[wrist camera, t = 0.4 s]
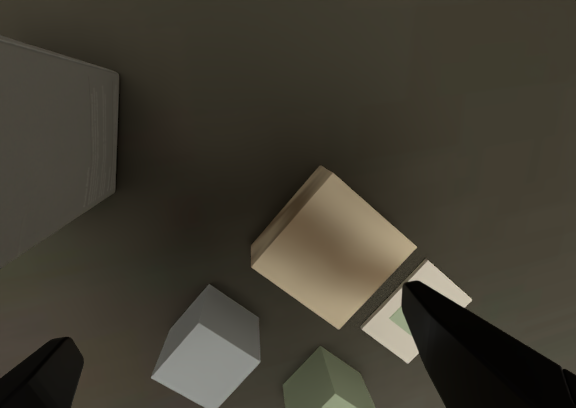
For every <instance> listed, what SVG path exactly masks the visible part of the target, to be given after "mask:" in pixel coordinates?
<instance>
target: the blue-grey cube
mask: <svg viewBox="0 0 576 408" xmlns="http://www.w3.org/2000/svg"><path fill="white" fill-rule="evenodd" d="M260 362H261V359H260V333H259V317H257V316H256V315H254V314H253V313H251V312H250V311H249V310H247V309H246V308H244V307H243V306H241V305H240V304H238V303H237V302H235V301H234V300H232V299H231V298H229V297H228V296H226V295H225V294H223V293H222V292H220V291H219V290H217V289H216V288H214V287H213V286H211V285H210V284H209V285H208V286H207V287H206V288H205V289H204V290H203V291H202V293H201V294H200V295H199V296H198V297H197V298H196V300H195V301H194V302H193V303H192V304H191V305H190V307H189V308H188V309H187V310H186V311H185V312H184V313H183V315H182V316H181V317H180V318H179V319H178V320H177V322H176V323H175V324H174V325H173V326H172V327H171V329H170V330H169V333H168V335H167V338H166V340H165V343H164V346H163V348H162V351H161V353H160V356H159V358H158V361H157V363H156V366H155V368H154V371H153V373H152V376H151V378H152V379H154V380H156V381H157V382H159V383H161V384H163V385H165V386H167V387H168V388H170V389H172V390H174V391H176V392H177V393H179V394H181V395H183V396H185V397H186V398H188V399H190V400H192V401H194V402H196V403H197V404H199V405H201V406H203V407H205V408H218V407H219V406H220V405H221V404H222V403H223V402H224V401H225V400H226V399H227V398H228V397H229V395H230V394H231V393H232V392H233V391H234V390H235V389H236V388H237V387H238V386H239V385H240V384H241V383H242V381H243V380H244V379H245V378H246V377H247V376H248V375H249V374H250V373H251V372H252V371H253V370H254V369H255V367H256V366H257V365H258V364H259V363H260Z"/></svg>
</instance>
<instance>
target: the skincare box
mask: <svg viewBox="0 0 576 408" xmlns="http://www.w3.org/2000/svg"><path fill="white" fill-rule="evenodd" d="M118 103H119V74H118V73H117V72H115V71H112V70H110V69H107V68H103V67H100V66H97V65H94V64H91V63H88V62H84V61H81V60H78V59H74V58H71V57H68V56H65V55H62V54H59V53H56V52H53V51H49V50H46V49H43V48H39V47H36V46H33V45H30V44H26V43H23V42H20V41H17V40H14V39H11V38H8V37H5V36H1V35H0V269H1V268H2V267H3V266H5V265H6V264H8V263H9V262H11V261H12V260H14V259H15V258H17V257H19V256H20V255H22V254H23V253H25V252H26V251H27V250H29V249H30V248H32V247H34V246H35V245H37V244H38V243H40V242H41V241H43V240H44V239H46V238H47V237H49V236H50V235H52V234H53V233H55V232H56V231H58V230H59V229H61V228H62V227H64V226H65V225H67V224H68V223H70V222H71V221H73V220H74V219H76V218H77V217H79V216H80V215H82V214H83V213H85V212H86V211H88V210H90V209H91V208H93V207H94V206H96V205H97V204H99V203H100V202H101V201H103V200H104V199H106V198H107V197H109V196H110V195H112V194H114V193H115V187H116V158H117V132H118Z"/></svg>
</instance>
